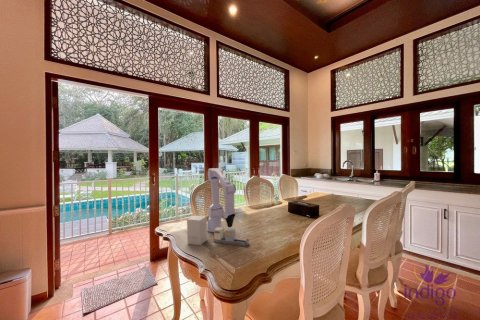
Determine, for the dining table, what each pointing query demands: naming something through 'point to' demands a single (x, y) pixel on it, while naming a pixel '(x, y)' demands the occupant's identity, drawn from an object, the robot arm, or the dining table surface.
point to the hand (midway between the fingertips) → (229, 226)
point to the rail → (233, 242)
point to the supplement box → (197, 230)
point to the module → (230, 235)
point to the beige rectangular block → (218, 233)
